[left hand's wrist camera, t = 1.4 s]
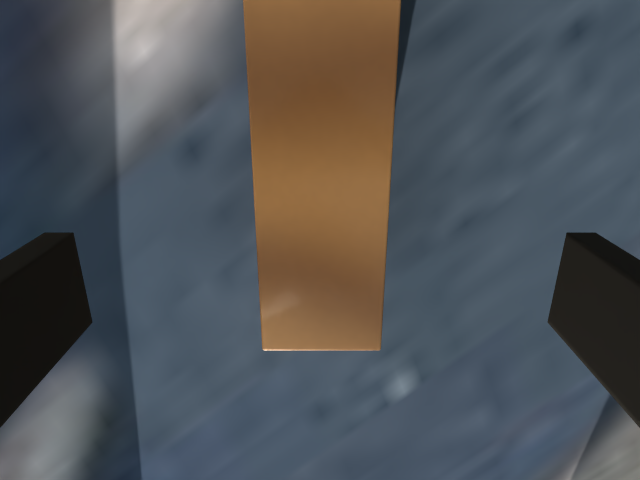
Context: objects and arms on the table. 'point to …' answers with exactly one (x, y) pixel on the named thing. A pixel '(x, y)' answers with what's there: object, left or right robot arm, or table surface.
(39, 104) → the table surface
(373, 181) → the beam
